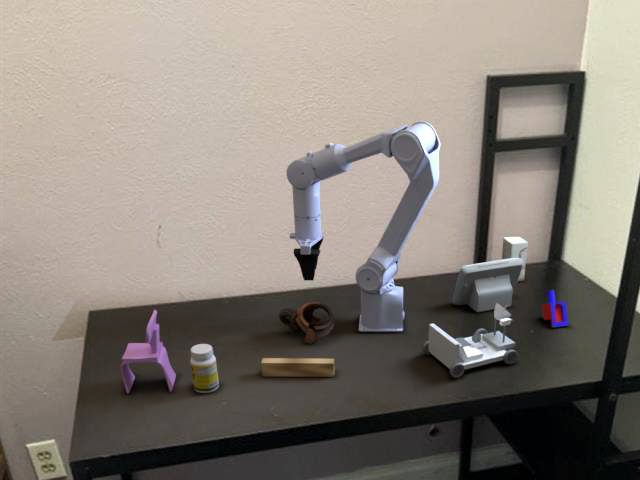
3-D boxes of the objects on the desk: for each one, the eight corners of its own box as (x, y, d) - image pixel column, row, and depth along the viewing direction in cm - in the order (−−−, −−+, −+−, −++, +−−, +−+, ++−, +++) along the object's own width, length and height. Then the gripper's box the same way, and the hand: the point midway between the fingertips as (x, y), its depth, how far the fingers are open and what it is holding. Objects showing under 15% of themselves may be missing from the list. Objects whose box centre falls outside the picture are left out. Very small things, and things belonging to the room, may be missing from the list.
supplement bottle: (195, 381, 150) (190, 343, 146) (220, 380, 151) (215, 341, 146) (192, 394, 146) (187, 354, 142) (218, 393, 147) (213, 353, 142)
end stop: (334, 371, 153) (334, 358, 152) (334, 376, 152) (333, 363, 150) (263, 371, 154) (262, 358, 152) (262, 376, 152) (261, 362, 151)
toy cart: (499, 294, 161) (532, 315, 152) (495, 337, 166) (528, 360, 157) (423, 310, 154) (453, 334, 145) (421, 354, 159) (451, 379, 150)
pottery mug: (331, 324, 173) (339, 301, 166) (326, 358, 168) (334, 337, 161) (278, 312, 171) (283, 289, 165) (271, 347, 166) (277, 324, 159)
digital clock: (513, 293, 186) (517, 251, 181) (526, 309, 178) (530, 265, 173) (447, 298, 184) (449, 255, 178) (457, 314, 176) (459, 270, 171)
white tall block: (524, 281, 192) (528, 242, 187) (508, 283, 191) (511, 244, 186) (515, 273, 197) (519, 235, 192) (499, 275, 196) (502, 237, 191)
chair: (131, 374, 153) (118, 304, 145) (177, 372, 153) (166, 302, 146) (123, 396, 146) (109, 323, 138) (170, 394, 146) (159, 322, 139)
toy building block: (559, 326, 174) (555, 290, 173) (568, 325, 170) (564, 288, 169) (544, 328, 173) (540, 292, 173) (553, 327, 169) (549, 290, 169)
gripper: (292, 204, 172) (295, 262, 179) (284, 225, 160) (288, 286, 166) (324, 204, 172) (326, 262, 179) (318, 225, 159) (321, 287, 166)
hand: (310, 274), depth 173 cm, fingers open, 6 cm apart
